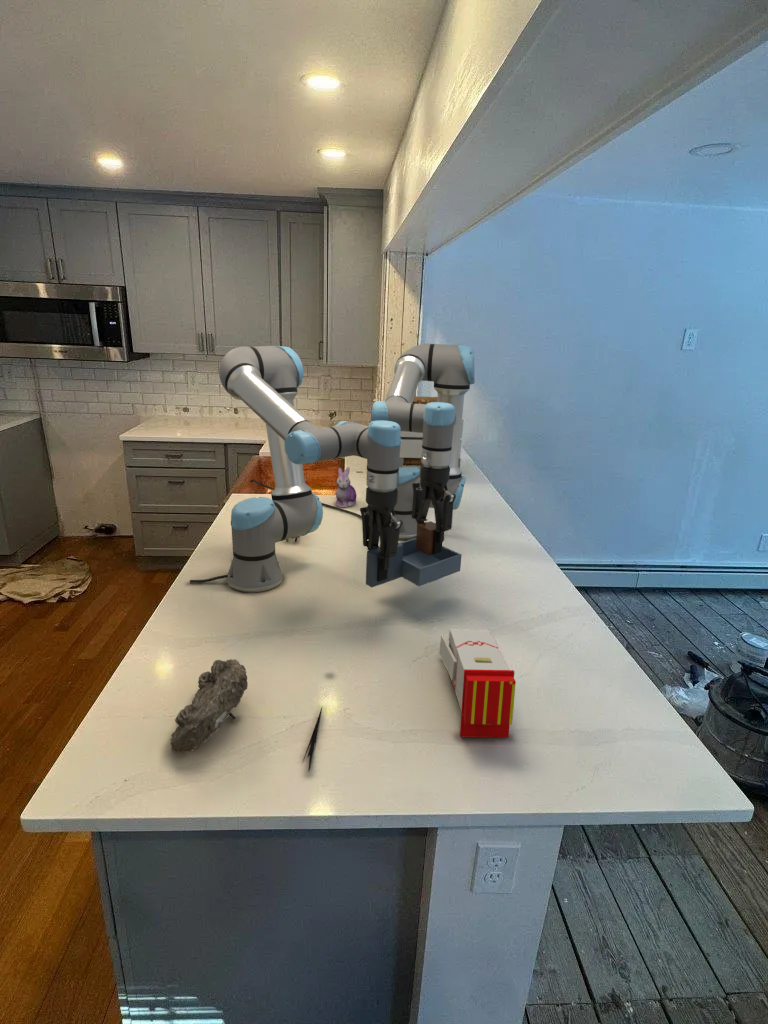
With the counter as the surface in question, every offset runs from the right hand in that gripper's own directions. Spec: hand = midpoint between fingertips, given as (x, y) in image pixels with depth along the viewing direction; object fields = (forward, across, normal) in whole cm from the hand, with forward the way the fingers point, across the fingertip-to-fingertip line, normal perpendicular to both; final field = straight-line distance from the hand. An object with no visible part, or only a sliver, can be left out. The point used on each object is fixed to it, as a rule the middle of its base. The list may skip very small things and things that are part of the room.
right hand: (429, 549), depth 151 cm
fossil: (+15, +10, -66) cm, 68 cm away
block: (0, 0, 0) cm, 0 cm away
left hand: (+3, 0, -18) cm, 18 cm away
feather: (+15, +23, -51) cm, 58 cm away
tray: (+5, 0, -8) cm, 9 cm away
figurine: (+15, -75, +29) cm, 82 cm away
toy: (+15, +35, -21) cm, 43 cm away
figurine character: (+15, -58, -6) cm, 60 cm away
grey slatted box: (+15, -92, +86) cm, 127 cm away
